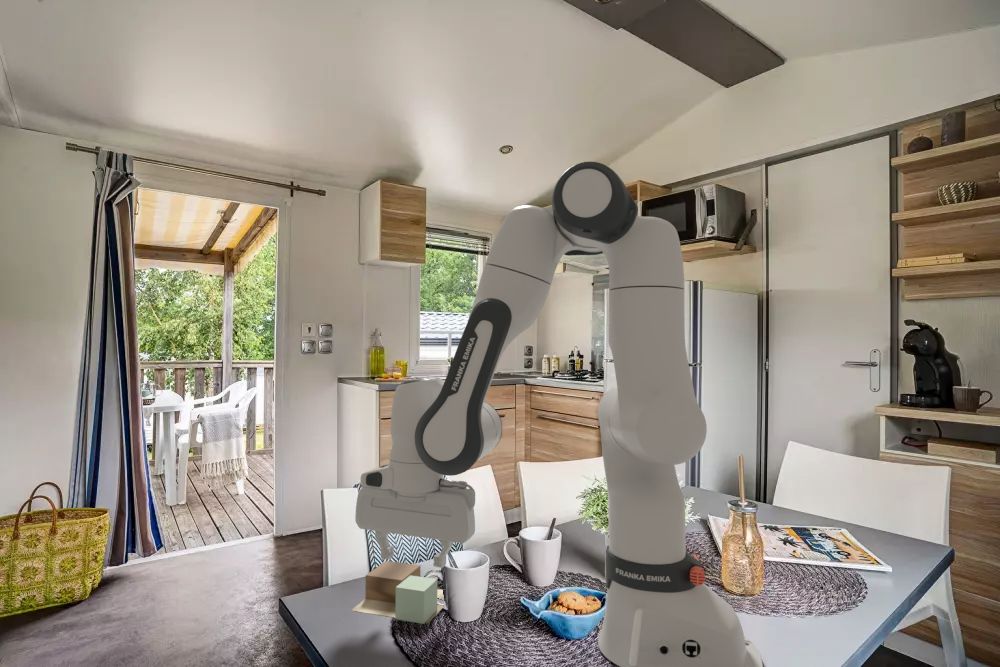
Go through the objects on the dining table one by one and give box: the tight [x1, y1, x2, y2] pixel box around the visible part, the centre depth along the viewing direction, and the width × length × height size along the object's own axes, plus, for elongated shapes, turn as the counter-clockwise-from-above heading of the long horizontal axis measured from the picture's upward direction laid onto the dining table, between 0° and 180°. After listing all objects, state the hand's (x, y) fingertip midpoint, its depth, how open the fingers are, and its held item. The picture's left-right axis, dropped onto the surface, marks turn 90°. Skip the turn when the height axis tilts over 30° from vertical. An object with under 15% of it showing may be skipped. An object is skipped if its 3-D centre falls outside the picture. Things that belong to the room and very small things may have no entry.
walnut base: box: [364, 560, 421, 603], centre depth 98 cm, size 7×7×4 cm
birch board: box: [350, 588, 445, 624], centre depth 94 cm, size 14×12×1 cm
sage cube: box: [394, 575, 438, 625], centre depth 90 cm, size 5×5×5 cm
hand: (413, 562), depth 90 cm, fingers open, 8 cm apart
